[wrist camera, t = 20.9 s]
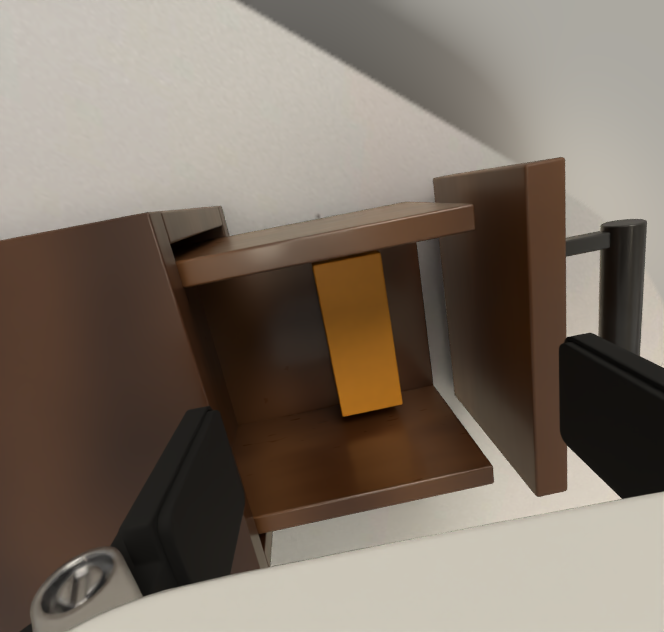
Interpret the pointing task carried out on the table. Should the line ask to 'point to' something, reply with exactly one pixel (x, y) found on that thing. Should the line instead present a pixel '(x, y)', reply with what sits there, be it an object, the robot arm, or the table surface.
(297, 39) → the table surface
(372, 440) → the drawer
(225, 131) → the table surface
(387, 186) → the table surface
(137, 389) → the cabinet
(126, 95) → the table surface
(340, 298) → the block
